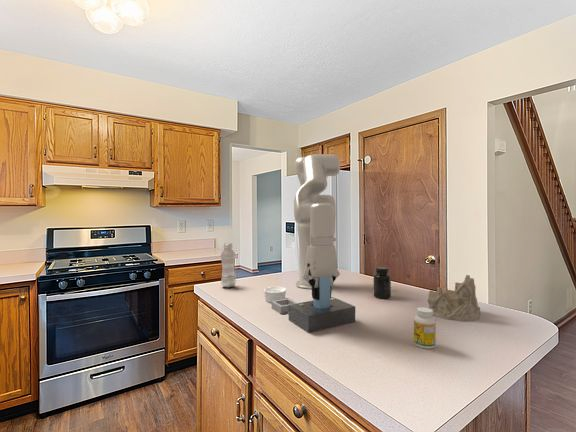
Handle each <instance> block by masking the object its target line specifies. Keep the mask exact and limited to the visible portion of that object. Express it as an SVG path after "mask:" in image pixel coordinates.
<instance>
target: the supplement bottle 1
mask: <svg viewBox="0 0 576 432" xmlns="http://www.w3.org/2000/svg"><path fill="white" fill-rule="evenodd" d="M391 279H392V277H391V275H390V274H389V268H388V267H385V266H378V267H375V274H374V275H373V297H374V298H376V299H379V300H380V299H381V300H387V299H388V300H389V299H391V297H392V280H391Z"/></svg>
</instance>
